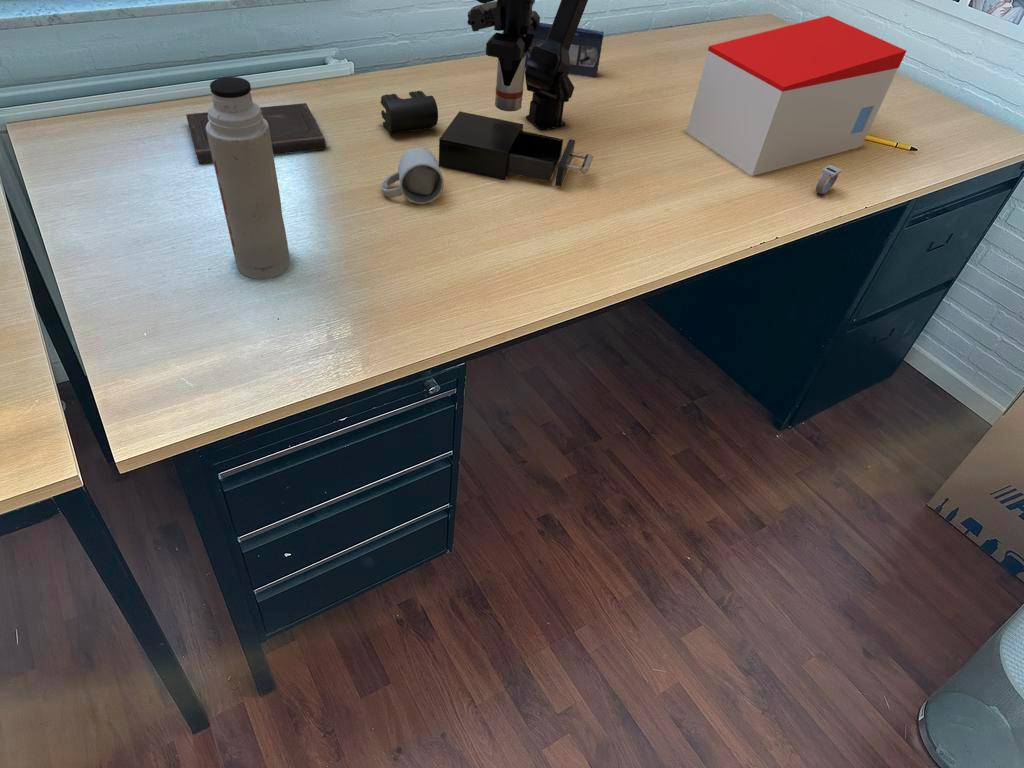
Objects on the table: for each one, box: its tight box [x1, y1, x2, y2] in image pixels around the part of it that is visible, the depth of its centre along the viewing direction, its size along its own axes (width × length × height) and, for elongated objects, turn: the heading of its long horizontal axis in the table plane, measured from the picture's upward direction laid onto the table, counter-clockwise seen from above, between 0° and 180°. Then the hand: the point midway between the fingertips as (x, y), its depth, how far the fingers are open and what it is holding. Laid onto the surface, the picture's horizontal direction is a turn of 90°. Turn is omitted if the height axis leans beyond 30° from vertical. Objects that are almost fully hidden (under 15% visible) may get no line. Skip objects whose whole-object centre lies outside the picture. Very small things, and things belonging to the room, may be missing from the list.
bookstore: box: [685, 15, 907, 177], centre depth 151 cm, size 21×35×21 cm, turn 121°
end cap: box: [380, 90, 439, 135], centre depth 144 cm, size 10×7×7 cm
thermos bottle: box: [206, 76, 291, 280], centre depth 101 cm, size 8×8×28 cm
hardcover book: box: [185, 102, 327, 164], centre depth 137 cm, size 16×23×2 cm
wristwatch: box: [815, 164, 843, 195], centre depth 141 cm, size 6×3×5 cm, turn 135°
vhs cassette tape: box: [525, 22, 605, 78], centre depth 172 cm, size 18×3×10 cm, turn 81°
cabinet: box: [438, 111, 524, 181], centre depth 138 cm, size 13×13×6 cm
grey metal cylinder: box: [494, 53, 526, 112], centre depth 137 cm, size 5×5×10 cm
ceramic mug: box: [380, 147, 445, 205], centre depth 126 cm, size 11×8×8 cm
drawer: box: [506, 130, 594, 188], centre depth 137 cm, size 16×12×4 cm
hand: (510, 80), depth 137 cm, fingers closed on grey metal cylinder, 5 cm apart
